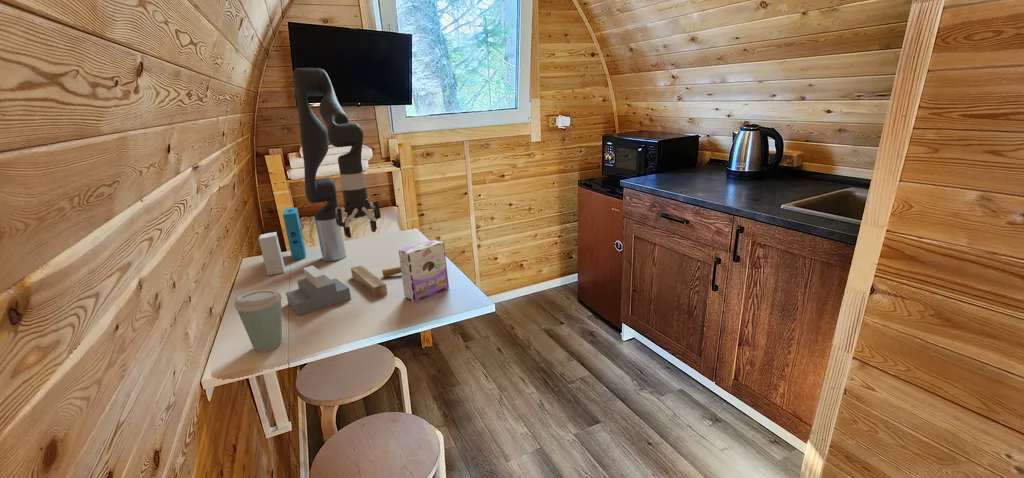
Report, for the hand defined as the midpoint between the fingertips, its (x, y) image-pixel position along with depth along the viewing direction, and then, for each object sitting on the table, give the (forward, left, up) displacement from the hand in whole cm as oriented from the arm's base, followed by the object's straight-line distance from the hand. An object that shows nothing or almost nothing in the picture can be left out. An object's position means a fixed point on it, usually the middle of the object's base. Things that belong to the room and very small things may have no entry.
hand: (361, 234), depth 148 cm
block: (-54, -8, -19) cm, 58 cm away
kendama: (+1, +15, -19) cm, 24 cm away
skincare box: (-42, -20, -19) cm, 50 cm away
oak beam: (0, 0, -19) cm, 19 cm away
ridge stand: (+1, -17, -18) cm, 25 cm away
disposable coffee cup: (+20, -36, -19) cm, 45 cm away
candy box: (+21, +11, -19) cm, 30 cm away
